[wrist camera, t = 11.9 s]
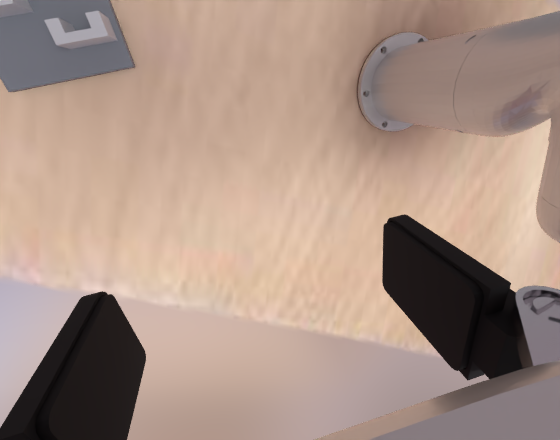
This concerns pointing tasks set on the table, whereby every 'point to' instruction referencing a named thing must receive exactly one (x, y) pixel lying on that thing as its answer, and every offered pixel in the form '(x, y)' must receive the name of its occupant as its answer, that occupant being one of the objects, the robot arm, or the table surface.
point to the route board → (59, 42)
